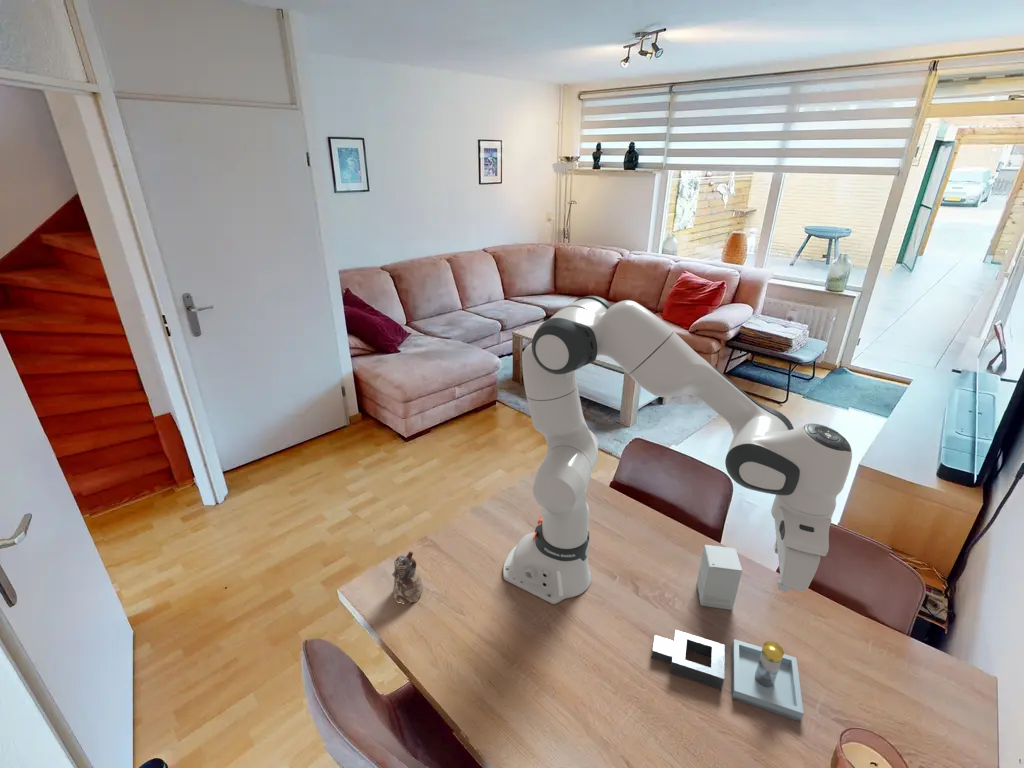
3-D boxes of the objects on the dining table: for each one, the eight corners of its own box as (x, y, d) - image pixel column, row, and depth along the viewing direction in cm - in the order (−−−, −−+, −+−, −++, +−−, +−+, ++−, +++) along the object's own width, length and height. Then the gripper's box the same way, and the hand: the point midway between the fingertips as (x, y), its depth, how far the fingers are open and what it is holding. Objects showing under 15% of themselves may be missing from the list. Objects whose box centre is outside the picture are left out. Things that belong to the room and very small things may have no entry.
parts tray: (732, 698, 98) (734, 690, 97) (731, 646, 108) (734, 639, 107) (800, 721, 94) (803, 713, 92) (793, 665, 104) (796, 657, 102)
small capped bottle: (754, 683, 99) (763, 654, 95) (754, 667, 102) (762, 638, 98) (774, 690, 98) (784, 660, 94) (773, 673, 101) (783, 644, 97)
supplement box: (733, 611, 116) (743, 571, 110) (699, 606, 117) (708, 566, 112) (727, 586, 122) (736, 547, 117) (696, 581, 124) (703, 543, 118)
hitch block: (650, 666, 104) (651, 655, 102) (654, 634, 111) (656, 623, 109) (721, 690, 99) (724, 678, 98) (721, 655, 106) (724, 644, 104)
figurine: (388, 592, 122) (382, 555, 117) (413, 577, 126) (408, 541, 121) (403, 610, 117) (397, 573, 112) (428, 594, 122) (424, 557, 116)
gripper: (777, 474, 96) (760, 528, 102) (785, 545, 79) (764, 605, 85) (813, 482, 94) (794, 537, 100) (830, 557, 77) (806, 617, 83)
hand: (780, 569), depth 92 cm, fingers open, 8 cm apart
